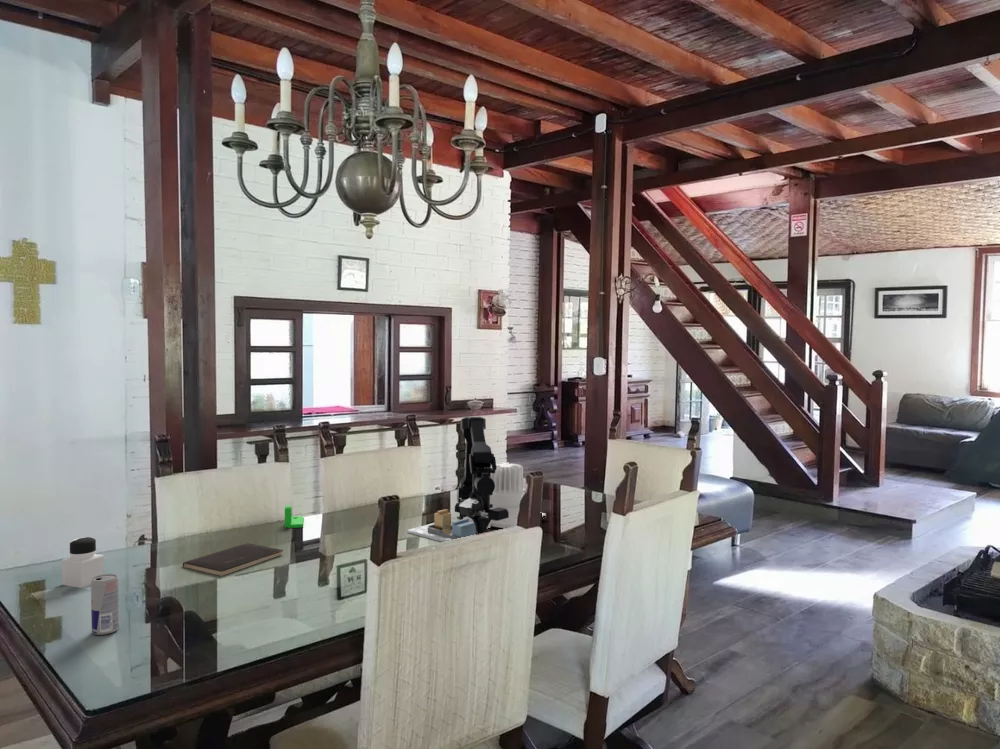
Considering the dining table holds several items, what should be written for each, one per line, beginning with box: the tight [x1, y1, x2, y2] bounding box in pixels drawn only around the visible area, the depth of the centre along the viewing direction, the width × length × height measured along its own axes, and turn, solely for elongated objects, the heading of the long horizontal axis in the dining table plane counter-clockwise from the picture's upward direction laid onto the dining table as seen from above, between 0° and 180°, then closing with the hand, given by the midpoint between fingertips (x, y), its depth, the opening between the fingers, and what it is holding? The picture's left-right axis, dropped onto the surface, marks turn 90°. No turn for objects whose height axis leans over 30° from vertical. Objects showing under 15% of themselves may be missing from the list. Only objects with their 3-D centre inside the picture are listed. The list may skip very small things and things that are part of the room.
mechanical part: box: [284, 505, 305, 529], centre depth 256 cm, size 12×6×8 cm, turn 13°
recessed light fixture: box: [463, 461, 547, 529], centre depth 262 cm, size 25×22×21 cm
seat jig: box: [406, 522, 478, 543], centre depth 245 cm, size 14×22×3 cm, turn 50°
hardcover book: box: [182, 542, 284, 577], centre depth 214 cm, size 16×23×2 cm
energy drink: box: [90, 573, 120, 636], centre depth 162 cm, size 5×5×12 cm
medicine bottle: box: [61, 536, 105, 589], centre depth 193 cm, size 7×7×12 cm
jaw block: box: [433, 508, 452, 533], centre depth 245 cm, size 4×4×7 cm
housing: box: [451, 518, 477, 537], centre depth 239 cm, size 7×4×5 cm, turn 140°
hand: (480, 536), depth 234 cm, fingers closed
